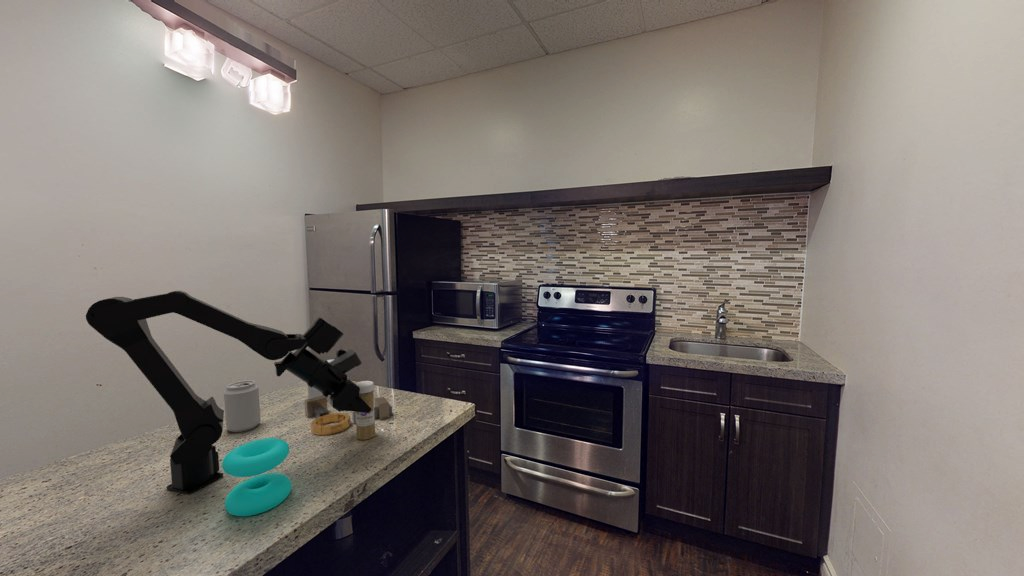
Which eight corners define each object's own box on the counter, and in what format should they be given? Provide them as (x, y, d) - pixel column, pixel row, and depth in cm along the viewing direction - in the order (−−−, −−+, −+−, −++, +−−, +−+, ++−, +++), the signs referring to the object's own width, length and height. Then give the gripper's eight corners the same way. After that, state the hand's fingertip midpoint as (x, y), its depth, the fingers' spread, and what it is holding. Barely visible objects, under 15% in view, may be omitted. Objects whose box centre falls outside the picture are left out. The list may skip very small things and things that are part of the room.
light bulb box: (314, 392, 128) (312, 360, 127) (336, 389, 130) (334, 358, 129) (307, 403, 117) (305, 369, 117) (331, 400, 119) (329, 366, 119)
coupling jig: (354, 440, 92) (353, 422, 91) (275, 428, 99) (273, 412, 99) (396, 413, 108) (395, 397, 108) (325, 404, 115) (324, 390, 115)
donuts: (211, 452, 66) (272, 431, 75) (215, 507, 67) (276, 479, 75) (236, 468, 61) (299, 443, 69) (240, 528, 61) (302, 496, 70)
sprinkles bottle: (357, 442, 90) (354, 387, 90) (355, 434, 94) (352, 382, 94) (377, 437, 93) (375, 383, 92) (374, 430, 97) (372, 379, 96)
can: (267, 421, 104) (264, 378, 103) (245, 434, 96) (242, 387, 95) (242, 421, 104) (239, 378, 104) (218, 433, 97) (215, 387, 96)
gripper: (346, 348, 81) (399, 387, 88) (329, 335, 96) (376, 370, 104) (307, 392, 77) (366, 429, 84) (296, 371, 92) (347, 405, 100)
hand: (365, 405), depth 93 cm, fingers open, 9 cm apart
